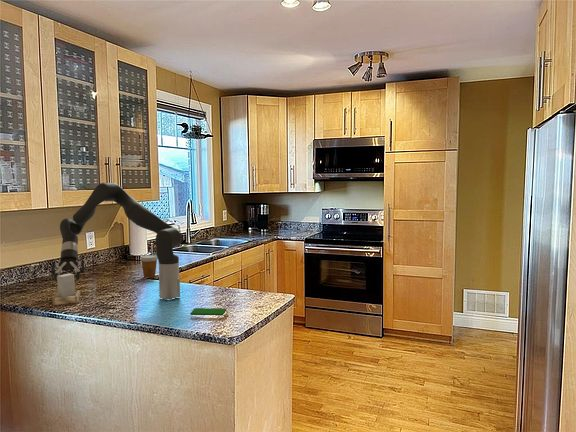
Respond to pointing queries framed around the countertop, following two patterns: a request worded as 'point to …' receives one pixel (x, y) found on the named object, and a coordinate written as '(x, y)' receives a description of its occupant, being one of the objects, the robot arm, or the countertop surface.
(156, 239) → the robot arm
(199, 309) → the dish sponge
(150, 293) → the countertop surface
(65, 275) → the skincare box
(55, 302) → the u-shaped wooden frame
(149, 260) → the disposable coffee cup
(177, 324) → the countertop surface
